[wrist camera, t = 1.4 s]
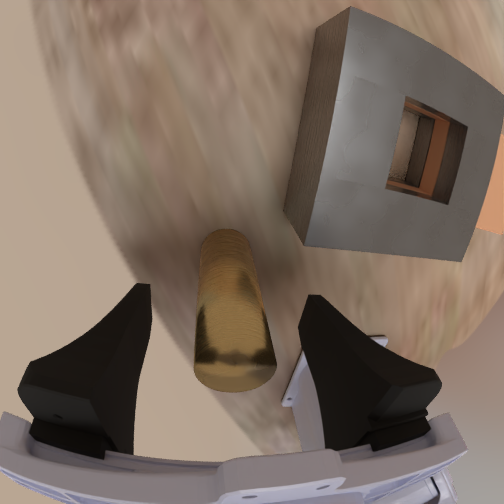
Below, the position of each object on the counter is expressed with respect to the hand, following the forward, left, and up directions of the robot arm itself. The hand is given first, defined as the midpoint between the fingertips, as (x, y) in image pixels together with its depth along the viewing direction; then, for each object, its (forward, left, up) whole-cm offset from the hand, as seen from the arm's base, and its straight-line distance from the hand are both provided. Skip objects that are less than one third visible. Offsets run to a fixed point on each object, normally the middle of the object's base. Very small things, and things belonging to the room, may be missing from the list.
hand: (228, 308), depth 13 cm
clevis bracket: (+8, -9, -6) cm, 13 cm away
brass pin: (0, 0, -6) cm, 6 cm away
